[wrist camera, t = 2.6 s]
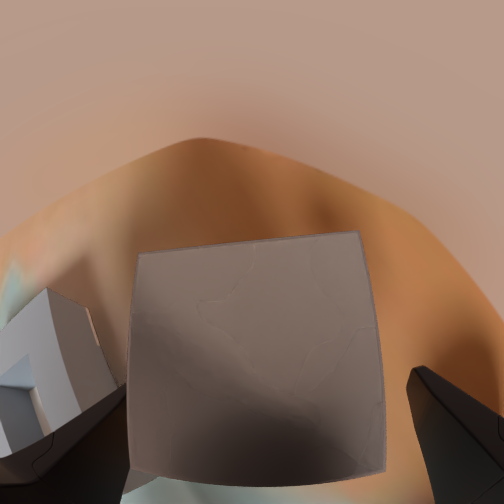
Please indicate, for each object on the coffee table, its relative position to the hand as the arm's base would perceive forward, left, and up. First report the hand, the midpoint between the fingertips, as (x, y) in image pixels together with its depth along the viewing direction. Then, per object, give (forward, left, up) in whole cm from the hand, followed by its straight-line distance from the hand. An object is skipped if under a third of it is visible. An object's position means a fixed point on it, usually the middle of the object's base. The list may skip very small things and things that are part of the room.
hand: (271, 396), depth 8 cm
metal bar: (+1, 0, -8) cm, 9 cm away
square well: (-12, +14, -8) cm, 20 cm away
